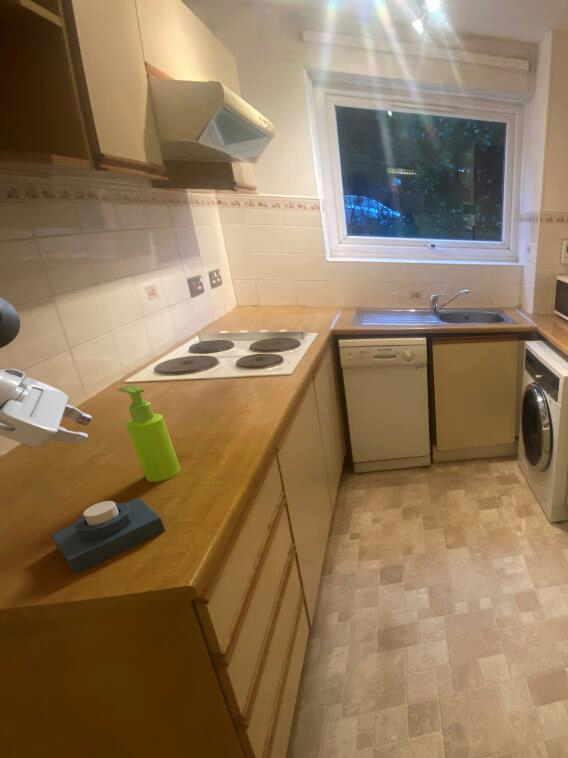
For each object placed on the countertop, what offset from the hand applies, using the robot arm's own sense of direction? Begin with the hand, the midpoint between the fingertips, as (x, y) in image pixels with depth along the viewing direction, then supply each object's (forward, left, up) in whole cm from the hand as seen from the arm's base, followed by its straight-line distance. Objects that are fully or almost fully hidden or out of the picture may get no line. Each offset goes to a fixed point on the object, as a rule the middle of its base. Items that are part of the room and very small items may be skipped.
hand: (88, 430), depth 84 cm
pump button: (-5, -19, -8) cm, 22 cm away
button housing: (-5, -19, -13) cm, 24 cm away
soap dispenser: (+8, -3, -13) cm, 16 cm away
